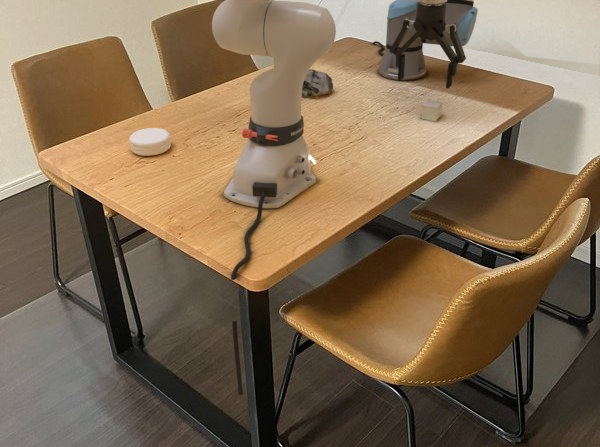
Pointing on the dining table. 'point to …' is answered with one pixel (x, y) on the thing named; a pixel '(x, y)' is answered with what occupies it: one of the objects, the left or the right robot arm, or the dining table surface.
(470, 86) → the dining table surface
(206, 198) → the dining table surface
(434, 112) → the light grey cube
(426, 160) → the dining table surface
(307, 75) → the rock
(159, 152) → the white round disc
